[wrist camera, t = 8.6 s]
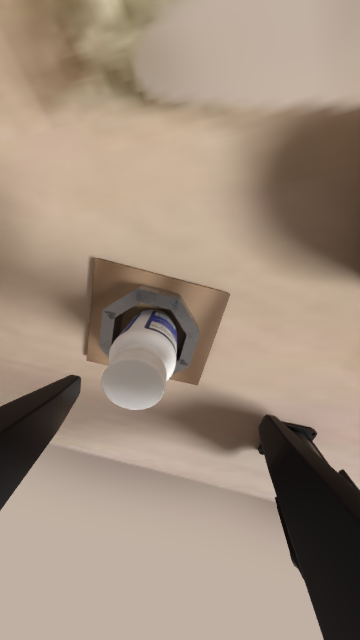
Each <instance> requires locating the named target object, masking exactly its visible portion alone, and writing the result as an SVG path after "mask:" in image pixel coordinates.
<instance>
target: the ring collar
mask: <svg viewBox="0 0 360 640" xmlns="http://www.w3.org/2000/svg"><path fill="white" fill-rule="evenodd" d="M140 302H141V303H145V304H149V305H153V306H157V307H161V308H165V309H169V310H171V311H172V312H173V314H174V315H175V317H176V319H177V320H178V322H179V323H180V325H181V327H182V328H183V330H184V331H185V332H184V335H183V339H182V342H181V346H180V348H179V349H177V354H176V365H175V369H174V372H173V374H175V373H177V372H179V371H181V370H184V369H186V368H188V367H189V366H190V363H191V360H192V357H193V354H194V351H195V348H196V345H197V342H198V338H199V335H200V331H199V327H198V324H197V322H196V320H195V318H194V317H193V315H192V313H191V312H190V310H189V308H188V307H187V305H186V303H185V302H184V300H183V298H182V297H181V295H180V294H178V293H174V292H170V291H166V290H162V289H159V288H155V287H151V286H147V285H142V286H140V287H138V288H136V289H135V290H133V291H131V292H130V293H128V294H127V295H125V296H124V297H122V298H120V299H119V300H117V301H116V302H114V303H112V304H111V305H109V306H108V307H106V308H104V309H103V312H102V321H101V331H100V340H99V347H100V348H101V349H102V350H103V351H104V353H105V354H106V355H107V356H108V357H109V352H110V348H111V346H112V344H113V343H114V341H115V340H116V338H117V337H118V336H119V335H120V333H121V326H122V319H123V313H124V312H125V311H127V310H128V309H130V308H132V307H133V306H135V305H137V304H138V303H140ZM173 374H172V375H173Z"/></svg>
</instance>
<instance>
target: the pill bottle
mask: <svg viewBox="0 0 360 640" xmlns="http://www.w3.org/2000/svg"><path fill="white" fill-rule="evenodd" d="M176 354H177V328H176V324H175V322H174V321H173V319H172V318H171V317H170V316H169V315H168V314H166V313H165V312H163V311H160V310H154V309H149V310H145V311H142V312H140V313H138V314H137V315H136V316H135V317H134V318H133V319H132V320H131V321H130V323H129V324H128V325H127V326H126V328H125V329H124V330H123V331H122V332H121V334H120V335H119V336H118V337H117V338H116V340H115V341H114V343H113V344H112V346H111V348H110V352H109V365H108V366H107V368H106V369H105V371H104V373H103V376H102V387H103V391H104V393H105V394H106V396H107V397H108V398H109V399H110V400H111V401H112V402H113V403H115V404H116V405H118V406H120V407H122V408H126V409H130V410H143V409H146V408H149V407H151V406H153V405H155V404H156V403H157V402H158V401H159V400H160V399H161V398H162V396H163V394H164V390H165V385H166V381H167V380H168V379H169V378H170V377H171V375H172V374H173V372H174V369H175V365H176Z"/></svg>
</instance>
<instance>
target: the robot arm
mask: <svg viewBox="0 0 360 640" xmlns="http://www.w3.org/2000/svg"><path fill="white" fill-rule="evenodd" d="M80 387H81V378H80V377H79V376H75V375H69V376H67V377H65V378H63V379H60V380H58V381H56V382H54V383H52V384H49V385H47V386H45V387H43V388H40V389H38V390H36V391H34V392H32V393H29V394H27V395H25V396H23V397H20V398H18V399H16V400H14V401H12V402H9V403H7V404H5V405H3V406H0V510H1V509H2V507H3V506H4V505H5V503H6V502H7V501H8V499H9V498H10V496H11V495H12V494H13V492H14V491H15V489H16V488H17V487H18V485H19V484H20V483H21V481H22V480H23V478H24V477H25V476H26V474H27V473H28V471H29V470H30V469H31V467H32V466H33V464H34V463H35V462H36V460H37V459H38V458H39V456H40V455H41V453H42V452H43V450H44V449H45V448H46V446H47V445H48V444H49V442H50V441H51V439H52V438H53V437H54V435H55V434H56V432H57V431H58V429H59V428H60V426H61V425H62V423H63V421H64V420H65V418H66V416H67V414H68V413H69V411H70V409H71V408H72V406H73V404H74V403H75V401H76V399H77V398H78V396H79V394H80ZM259 434H260V438H261V442H262V444H261V445H260V447H259V449H258V451H259V453H260V454H262V455H265V459H266V463H267V467H268V470H269V473H270V477H271V480H272V483H273V486H274V489H275V492H276V495H277V497H275V500H276V503H277V509H278V513H279V516H280V520H281V523H282V526H283V530H284V533H285V537H286V540H287V544H288V548H289V551H290V556H291V560H292V562H293V564H294V566H295V567H297V568H298V569H299V571H300V573H301V575H302V577H303V579H304V581H305V583H306V586H307V589H308V593H309V596H310V599H311V602H312V605H313V608H314V611H315V614H316V617H317V620H318V623H319V626H320V629H321V632H322V635H323V638H324V640H360V490H359V489H358V487H357V486H356V485H355V484H354V482H353V481H352V480H351V478H350V477H349V476H348V475H347V473H346V472H345V471H344V470H340V471H339V472H336V471H335V470H334V469H333V468H332V467H331V466H330V465H329V464H328V462H327V461H326V459H325V458H324V457H323V455H322V454H321V453H320V451H319V450H318V448H317V447H316V446H315V444H314V443H313V442H312V441H313V439H314V438H315V437H316V435H317V432H316V431H315V430H314V429H310V428H305V427H301V426H296V425H291V424H287V423H282V422H281V421H280V420H279V419H278V418H276V417H275V416H273V415H268V414H267V415H265V416H264V418H263V420H262V421H261V423H260V425H259Z"/></svg>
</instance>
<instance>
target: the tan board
mask: <svg viewBox="0 0 360 640" xmlns="http://www.w3.org/2000/svg"><path fill="white" fill-rule="evenodd" d="M142 285H147V286H151V287H155V288H159V289H162V290H166V291H170V292H174V293H178V294H180V295H181V297H182V298H183V300H184V302H185V303H186V305H187V307H188V308H189V310H190V312H191V313H192V315H193V317H194V318H195V320H196V322H197V324H198V327H199V331H200V335H199V338H198V342H197V345H196V348H195V351H194V354H193V357H192V360H191V363H190V366H189V367H188V368H186V369H184V370H181V371H179V372H177V373H175V374H173V375H171V377H170V378H169V379H171V380H176V381H180V382H185V383H189V384H194V385H198V383H199V380H200V377H201V374H202V372H203V369H204V366H205V363H206V361H207V358H208V355H209V352H210V349H211V347H212V344H213V341H214V338H215V335H216V333H217V330H218V327H219V324H220V321H221V319H222V316H223V313H224V310H225V308H226V305H227V302H228V299H229V296H230V294H229V293H228V292H224V291H220V290H216V289H213V288H209V287H205V286H201V285H197V284H194V283H190V282H186V281H182V280H179V279H175V278H171V277H167V276H163V275H160V274H156V273H152V272H148V271H145V270H141V269H137V268H133V267H129V266H126V265H122V264H118V263H114V262H111V261H107V260H103V259H96V258H95V265H94V278H93V290H92V302H91V314H90V326H89V338H88V350H87V361H91V362H95V363H100V364H104V365H109V357H108V356H107V355H106V354H105V353H104V351H103V350H102V349H101V348H100V347H99V340H100V331H101V321H102V312H103V309H104V308H106V307H108V306H109V305H111V304H112V303H114V302H116V301H117V300H119V299H120V298H122V297H124V296H125V295H127V294H128V293H130V292H131V291H133V290H135V289H136V288H138V287H140V286H142ZM149 309H154V310H160V311H163V312H165V313H166V314H168V315H169V316H170V317H171V318H172V319H173V321H174V322H175V324H176V328H177V349H179V348H180V346H181V342H182V339H183V335H184V332H185V331H184V330H183V328H182V327H181V325H180V323H179V322H178V320H177V319H176V317H175V315H174V314H173V312H172V311H171V310H169V309H165V308H161V307H157V306H153V305H149V304H145V303H141V302H140V303H138V304H137V305H135V306H133V307H132V308H130V309H128V310H127V311H125V312H124V313H123V319H122V326H121V332H122V331H123V330H124V329H125V328H126V326H127V325H128V324H129V323H130V321H131V320H132V319H133V318H134V317H135V316H136V315H137V314H138V313H140V312H142V311H145V310H149ZM120 334H121V333H120Z"/></svg>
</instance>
